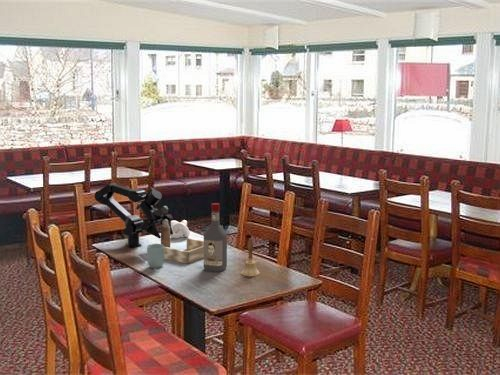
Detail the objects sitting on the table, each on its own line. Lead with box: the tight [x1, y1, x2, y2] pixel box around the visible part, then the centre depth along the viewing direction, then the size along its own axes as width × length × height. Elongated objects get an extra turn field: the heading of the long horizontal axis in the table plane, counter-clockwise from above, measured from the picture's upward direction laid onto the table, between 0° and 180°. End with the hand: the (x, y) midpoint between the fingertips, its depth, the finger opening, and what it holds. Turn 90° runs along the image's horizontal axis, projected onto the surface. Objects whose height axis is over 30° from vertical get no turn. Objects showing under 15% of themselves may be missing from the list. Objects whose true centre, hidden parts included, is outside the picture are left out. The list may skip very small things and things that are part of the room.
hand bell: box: [240, 237, 261, 277], centre depth 272 cm, size 8×8×16 cm
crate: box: [164, 237, 204, 265], centre depth 296 cm, size 16×20×6 cm
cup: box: [146, 243, 165, 270], centre depth 279 cm, size 8×8×10 cm
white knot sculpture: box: [170, 219, 191, 240], centre depth 334 cm, size 11×12×9 cm
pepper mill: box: [160, 219, 171, 248], centre depth 303 cm, size 5×5×17 cm
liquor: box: [203, 202, 228, 273], centre depth 276 cm, size 9×9×30 cm
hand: (166, 236), depth 303 cm, fingers open, 9 cm apart
